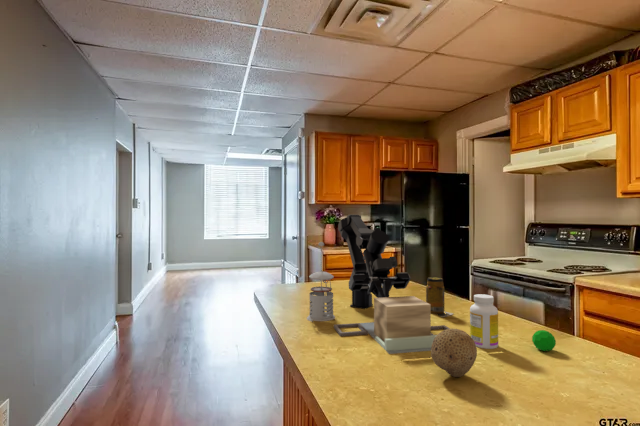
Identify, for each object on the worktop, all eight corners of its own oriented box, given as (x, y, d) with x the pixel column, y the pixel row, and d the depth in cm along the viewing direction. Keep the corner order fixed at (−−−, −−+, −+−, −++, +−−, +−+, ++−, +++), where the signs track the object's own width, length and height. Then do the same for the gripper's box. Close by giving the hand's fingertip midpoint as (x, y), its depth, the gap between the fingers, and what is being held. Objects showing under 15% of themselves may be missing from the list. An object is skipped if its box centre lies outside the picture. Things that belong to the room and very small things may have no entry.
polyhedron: (527, 348, 92) (527, 329, 92) (540, 345, 94) (540, 327, 94) (546, 355, 88) (546, 335, 88) (560, 352, 90) (560, 332, 90)
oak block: (374, 333, 103) (374, 297, 103) (413, 330, 105) (413, 296, 105) (387, 345, 93) (387, 306, 93) (430, 342, 95) (430, 304, 95)
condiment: (432, 309, 130) (432, 275, 130) (454, 314, 124) (454, 279, 124) (420, 312, 126) (420, 278, 126) (442, 318, 119) (442, 281, 119)
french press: (301, 320, 117) (301, 242, 117) (315, 311, 127) (315, 240, 127) (330, 324, 113) (330, 243, 113) (342, 314, 124) (342, 240, 124)
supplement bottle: (496, 342, 96) (496, 294, 96) (500, 351, 90) (499, 299, 90) (469, 339, 98) (469, 292, 99) (470, 348, 92) (470, 297, 92)
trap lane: (331, 326, 111) (331, 316, 111) (429, 320, 117) (429, 310, 117) (355, 358, 86) (355, 345, 86) (476, 348, 92) (476, 336, 92)
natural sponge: (452, 390, 70) (451, 338, 70) (421, 371, 79) (421, 325, 79) (486, 381, 74) (486, 332, 74) (454, 364, 82) (454, 320, 82)
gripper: (352, 248, 113) (362, 292, 102) (408, 247, 116) (424, 289, 106) (345, 269, 121) (354, 311, 110) (398, 267, 124) (412, 308, 114)
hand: (386, 305), depth 110 cm, fingers closed
